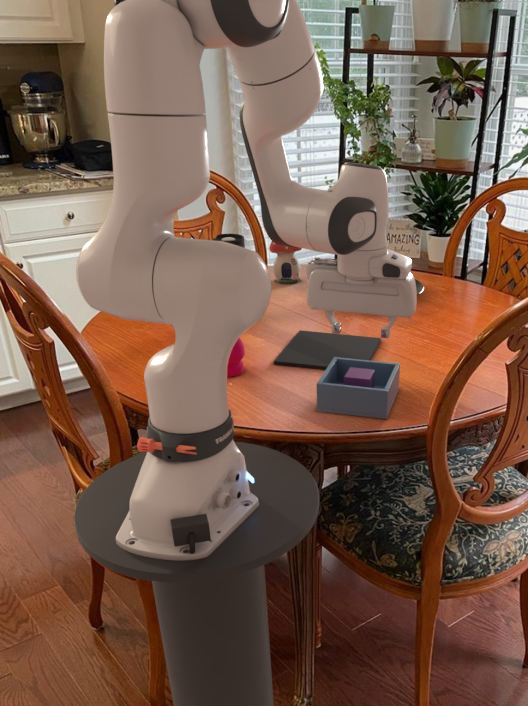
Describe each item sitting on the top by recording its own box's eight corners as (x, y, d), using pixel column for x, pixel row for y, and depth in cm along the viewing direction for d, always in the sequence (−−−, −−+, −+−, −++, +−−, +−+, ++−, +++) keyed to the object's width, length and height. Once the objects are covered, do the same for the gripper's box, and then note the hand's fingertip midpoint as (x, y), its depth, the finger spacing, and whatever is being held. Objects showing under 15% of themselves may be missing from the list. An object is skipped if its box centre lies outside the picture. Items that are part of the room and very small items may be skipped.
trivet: (363, 373, 152) (363, 370, 152) (273, 364, 155) (273, 361, 155) (380, 341, 169) (381, 337, 168) (299, 333, 172) (299, 330, 172)
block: (368, 403, 138) (369, 379, 135) (343, 400, 139) (344, 376, 136) (374, 392, 142) (374, 369, 139) (349, 390, 143) (350, 366, 140)
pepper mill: (234, 362, 156) (227, 270, 146) (252, 372, 151) (246, 278, 141) (205, 369, 152) (196, 276, 142) (222, 380, 148) (214, 285, 137)
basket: (386, 419, 134) (387, 391, 131) (316, 411, 136) (316, 383, 133) (398, 390, 145) (400, 363, 142) (334, 383, 148) (334, 356, 145)
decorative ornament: (269, 283, 206) (267, 229, 199) (273, 276, 212) (270, 224, 204) (301, 284, 206) (300, 230, 198) (304, 277, 212) (302, 225, 204)
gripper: (300, 261, 126) (303, 335, 133) (415, 270, 122) (411, 346, 130) (310, 252, 131) (312, 324, 138) (420, 260, 127) (416, 333, 135)
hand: (360, 334), depth 134 cm, fingers open, 8 cm apart
